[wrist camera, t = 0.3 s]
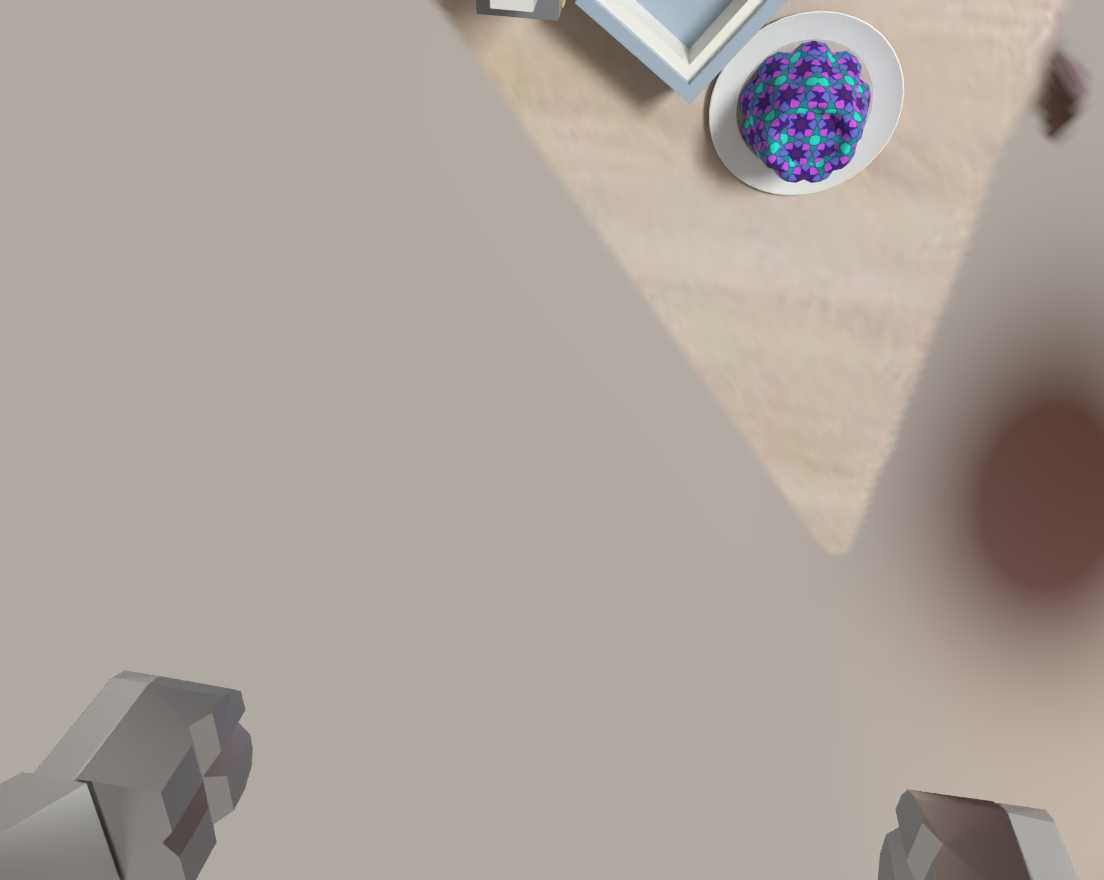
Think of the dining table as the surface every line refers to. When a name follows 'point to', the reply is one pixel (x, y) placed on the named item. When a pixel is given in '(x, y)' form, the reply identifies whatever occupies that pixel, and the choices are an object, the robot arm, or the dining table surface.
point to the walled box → (683, 34)
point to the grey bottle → (522, 8)
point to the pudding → (806, 104)
